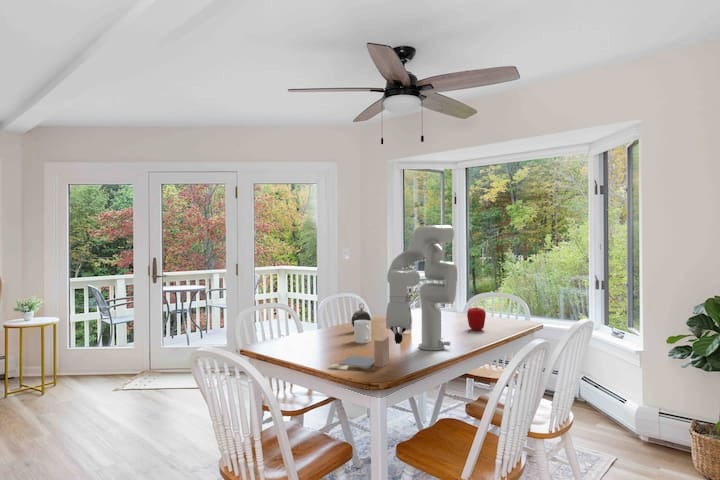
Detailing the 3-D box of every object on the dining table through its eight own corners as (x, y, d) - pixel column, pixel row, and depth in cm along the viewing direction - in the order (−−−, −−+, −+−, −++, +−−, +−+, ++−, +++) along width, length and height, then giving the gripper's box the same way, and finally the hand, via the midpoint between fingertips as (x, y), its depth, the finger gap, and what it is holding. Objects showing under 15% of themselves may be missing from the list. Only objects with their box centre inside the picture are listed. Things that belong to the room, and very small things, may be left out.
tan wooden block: (389, 361, 200) (388, 336, 200) (383, 367, 191) (383, 341, 191) (380, 360, 201) (380, 336, 201) (374, 366, 193) (374, 340, 192)
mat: (379, 359, 204) (379, 358, 204) (370, 367, 191) (370, 366, 191) (350, 356, 208) (350, 355, 208) (338, 364, 195) (338, 363, 195)
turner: (373, 369, 188) (373, 366, 188) (369, 372, 184) (369, 369, 184) (333, 365, 194) (333, 362, 194) (328, 368, 190) (328, 365, 190)
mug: (361, 345, 229) (361, 324, 228) (351, 341, 239) (351, 320, 239) (376, 344, 232) (376, 323, 232) (366, 339, 243) (366, 319, 243)
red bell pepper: (463, 329, 268) (463, 306, 268) (477, 327, 273) (477, 304, 273) (475, 332, 259) (475, 308, 259) (489, 330, 263) (489, 307, 263)
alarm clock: (367, 329, 268) (367, 302, 268) (372, 331, 263) (372, 303, 263) (351, 331, 262) (350, 303, 262) (355, 333, 258) (355, 304, 257)
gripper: (417, 299, 195) (417, 342, 195) (383, 298, 199) (384, 339, 200) (413, 301, 187) (413, 346, 188) (378, 300, 192) (379, 343, 193)
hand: (398, 343), depth 194 cm, fingers closed
